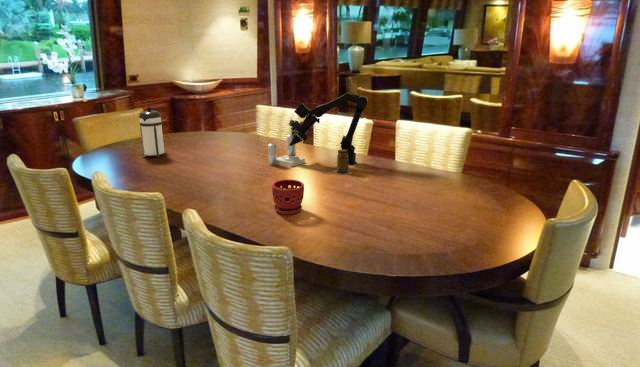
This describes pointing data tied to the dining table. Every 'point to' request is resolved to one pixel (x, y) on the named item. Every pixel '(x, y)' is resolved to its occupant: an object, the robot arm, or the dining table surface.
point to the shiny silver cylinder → (290, 149)
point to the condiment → (342, 162)
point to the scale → (290, 160)
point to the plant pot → (288, 196)
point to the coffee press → (151, 133)
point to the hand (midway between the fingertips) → (288, 144)
